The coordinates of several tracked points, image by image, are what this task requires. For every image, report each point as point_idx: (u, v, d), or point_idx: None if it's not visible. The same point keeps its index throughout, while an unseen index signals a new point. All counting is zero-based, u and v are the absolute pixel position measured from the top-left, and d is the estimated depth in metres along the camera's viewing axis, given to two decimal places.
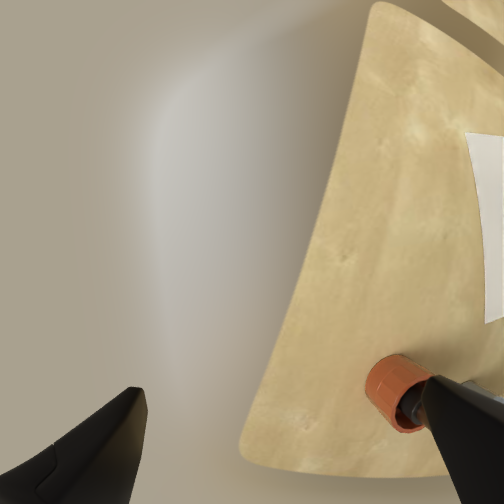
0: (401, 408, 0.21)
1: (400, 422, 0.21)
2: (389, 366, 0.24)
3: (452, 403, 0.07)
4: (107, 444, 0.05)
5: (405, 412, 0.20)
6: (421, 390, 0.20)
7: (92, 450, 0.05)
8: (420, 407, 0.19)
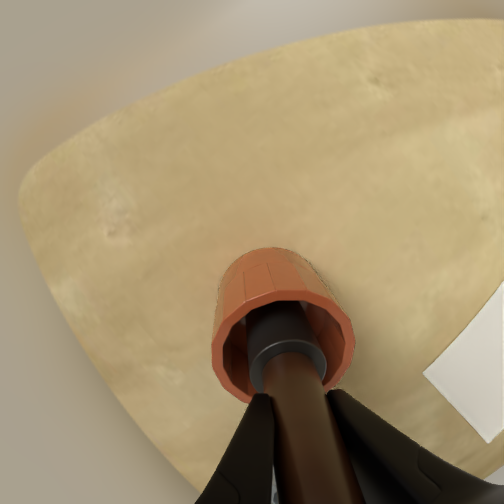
0: (253, 330, 0.12)
1: (227, 356, 0.12)
2: (295, 260, 0.14)
3: (345, 424, 0.07)
4: (272, 456, 0.06)
5: (253, 340, 0.11)
6: (312, 333, 0.11)
7: (266, 465, 0.05)
8: (289, 353, 0.10)
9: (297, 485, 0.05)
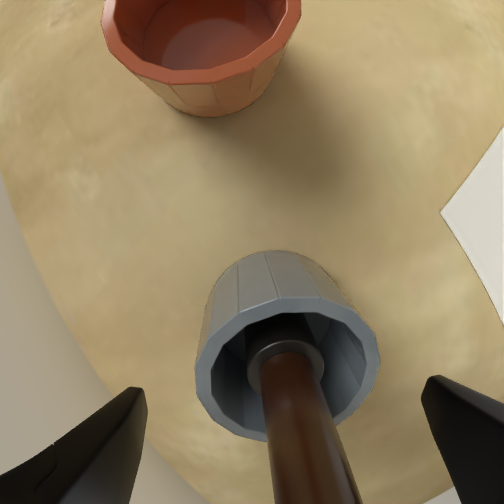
0: (251, 330, 0.11)
1: (130, 42, 0.07)
2: None
3: (451, 403, 0.07)
4: (107, 444, 0.05)
5: (251, 341, 0.11)
6: (310, 333, 0.11)
7: (92, 450, 0.05)
8: (286, 353, 0.10)
9: (294, 486, 0.05)
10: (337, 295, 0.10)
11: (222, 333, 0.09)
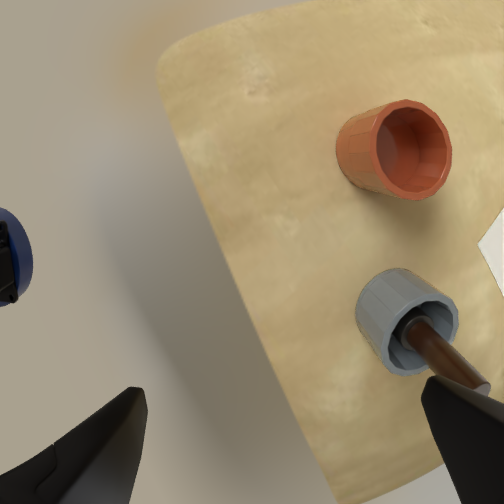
0: None
1: None
2: None
3: (451, 403, 0.07)
4: (107, 444, 0.05)
5: None
6: None
7: (92, 450, 0.05)
8: (420, 322, 0.18)
9: (454, 367, 0.13)
10: None
11: (401, 313, 0.17)
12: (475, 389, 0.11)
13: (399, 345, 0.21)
